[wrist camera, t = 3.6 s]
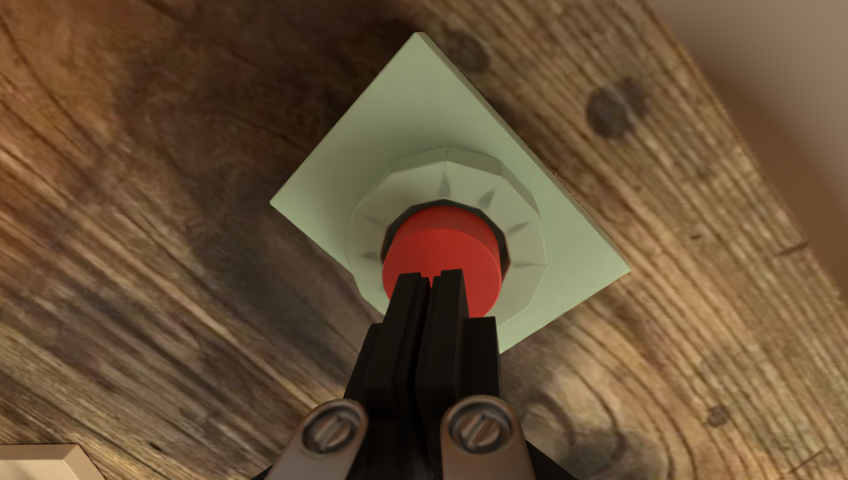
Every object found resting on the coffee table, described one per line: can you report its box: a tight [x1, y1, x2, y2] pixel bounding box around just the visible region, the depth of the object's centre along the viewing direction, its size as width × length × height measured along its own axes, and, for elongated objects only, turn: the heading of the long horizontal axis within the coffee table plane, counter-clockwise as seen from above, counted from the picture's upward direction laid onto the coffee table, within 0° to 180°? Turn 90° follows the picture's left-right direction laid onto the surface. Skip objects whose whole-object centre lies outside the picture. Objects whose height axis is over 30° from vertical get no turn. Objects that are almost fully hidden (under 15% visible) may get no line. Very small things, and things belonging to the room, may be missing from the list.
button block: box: [270, 32, 631, 354], centre depth 15 cm, size 11×8×4 cm
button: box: [382, 206, 502, 318], centre depth 13 cm, size 4×4×2 cm
